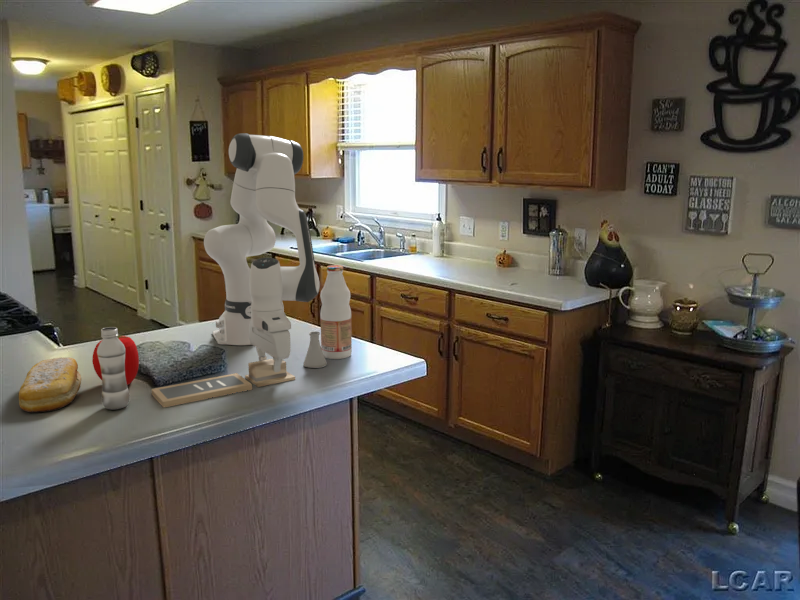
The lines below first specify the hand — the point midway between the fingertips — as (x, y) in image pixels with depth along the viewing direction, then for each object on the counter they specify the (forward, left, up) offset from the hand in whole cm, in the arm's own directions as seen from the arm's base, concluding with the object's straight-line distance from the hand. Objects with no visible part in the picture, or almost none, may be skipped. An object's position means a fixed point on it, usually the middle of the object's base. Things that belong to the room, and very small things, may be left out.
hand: (269, 366), depth 183 cm
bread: (-19, -52, -4) cm, 55 cm away
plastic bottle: (-1, -40, -4) cm, 40 cm away
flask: (-4, +16, -4) cm, 17 cm away
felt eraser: (0, -1, -3) cm, 3 cm away
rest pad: (0, 0, -3) cm, 3 cm away
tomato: (-18, -36, -4) cm, 40 cm away
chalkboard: (0, -19, -3) cm, 19 cm away
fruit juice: (-9, +26, -4) cm, 28 cm away
